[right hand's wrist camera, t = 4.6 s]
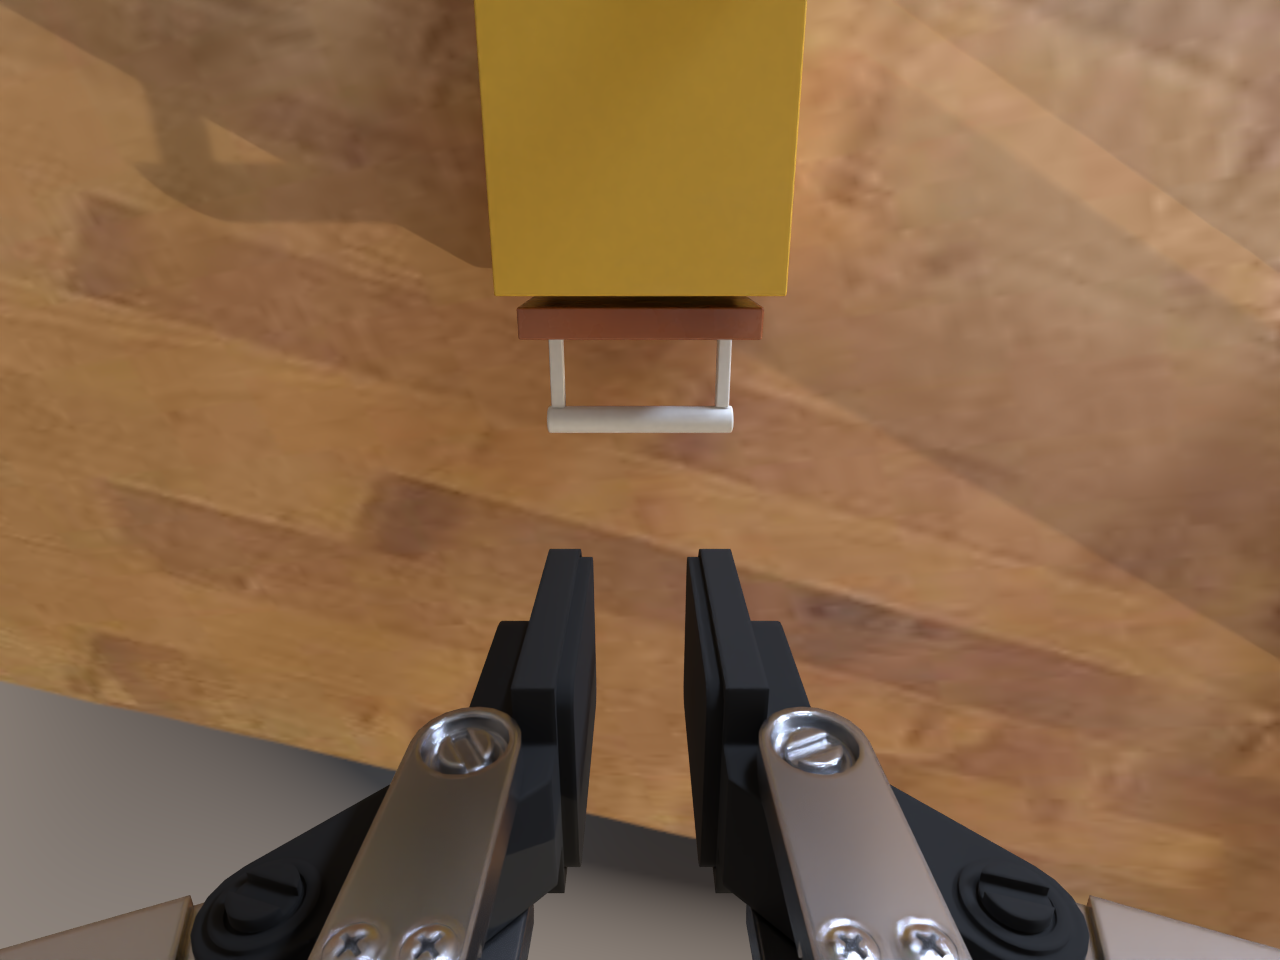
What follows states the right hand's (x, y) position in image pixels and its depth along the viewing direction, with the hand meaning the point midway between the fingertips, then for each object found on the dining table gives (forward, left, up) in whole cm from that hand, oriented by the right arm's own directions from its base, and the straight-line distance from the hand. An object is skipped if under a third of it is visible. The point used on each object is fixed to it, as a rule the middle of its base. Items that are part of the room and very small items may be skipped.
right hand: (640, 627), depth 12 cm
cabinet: (-11, -6, -26) cm, 29 cm away
